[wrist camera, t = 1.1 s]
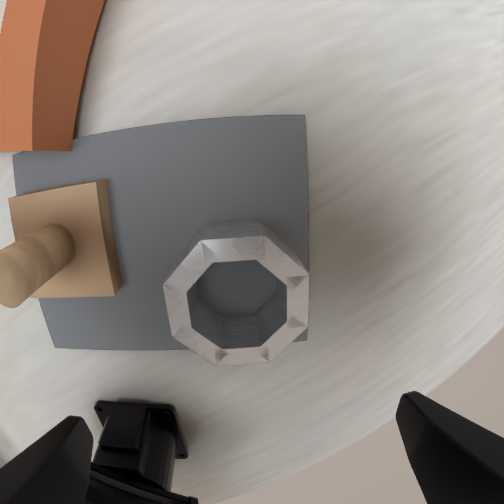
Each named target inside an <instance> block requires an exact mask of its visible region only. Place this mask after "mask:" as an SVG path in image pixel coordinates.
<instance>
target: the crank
mask: <svg viewBox="0 0 504 504" xmlns="http://www.w3.org/2000/svg"><path fill="white" fill-rule="evenodd" d="M104 2H105V0H7V3H6V8H5V12H4V17H3V23H2V28H1V34H0V151H71V149H72V141H73V133H74V126H75V120H76V113H77V108H78V102H79V97H80V91H81V86H82V82H83V77H84V72H85V68H86V64H87V60H88V56H89V52H90V48H91V44H92V41H93V37H94V33H95V30H96V27H97V23H98V20H99V17H100V14H101V11H102V8H103V5H104Z"/></svg>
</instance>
